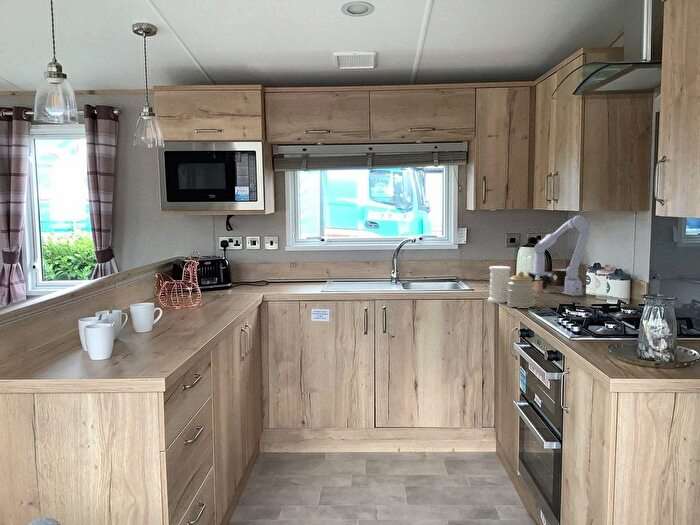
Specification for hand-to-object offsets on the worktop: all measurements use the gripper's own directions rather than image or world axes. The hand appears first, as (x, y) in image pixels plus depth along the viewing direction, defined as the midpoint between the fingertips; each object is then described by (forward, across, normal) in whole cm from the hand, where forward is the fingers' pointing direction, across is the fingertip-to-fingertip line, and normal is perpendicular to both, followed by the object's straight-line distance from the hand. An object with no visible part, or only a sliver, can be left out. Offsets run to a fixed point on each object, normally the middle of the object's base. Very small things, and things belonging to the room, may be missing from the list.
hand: (538, 287), depth 312 cm
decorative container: (+3, -1, +38) cm, 38 cm away
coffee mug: (+3, +6, -32) cm, 33 cm away
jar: (+3, -17, +43) cm, 47 cm away
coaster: (+3, 0, 0) cm, 3 cm away
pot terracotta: (+2, 0, 0) cm, 2 cm away
